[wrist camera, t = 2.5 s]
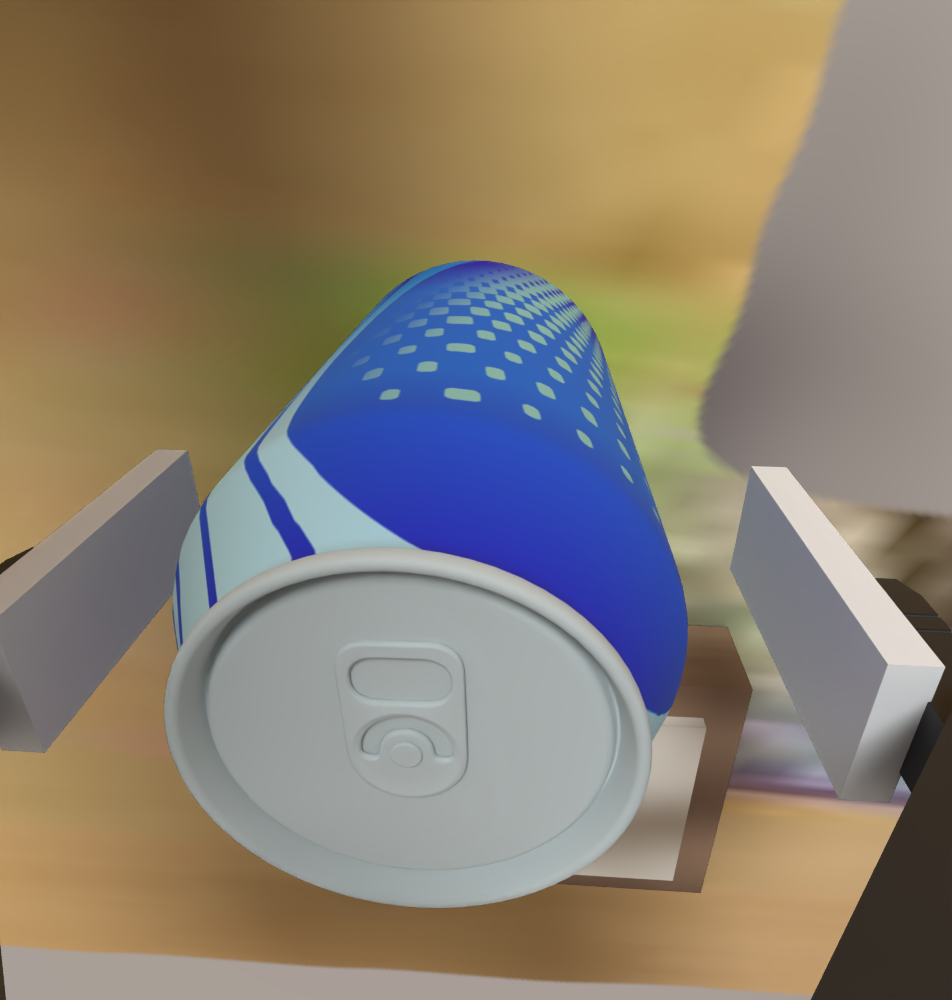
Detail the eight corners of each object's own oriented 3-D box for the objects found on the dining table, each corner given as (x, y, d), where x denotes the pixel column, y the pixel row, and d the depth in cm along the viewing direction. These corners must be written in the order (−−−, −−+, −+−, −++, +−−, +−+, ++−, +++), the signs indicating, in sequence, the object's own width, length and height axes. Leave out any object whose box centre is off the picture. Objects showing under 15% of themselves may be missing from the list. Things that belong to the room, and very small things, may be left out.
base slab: (430, 614, 28) (417, 683, 25) (727, 626, 27) (756, 699, 24) (439, 808, 34) (428, 886, 30) (684, 822, 33) (703, 904, 29)
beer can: (657, 365, 22) (872, 750, 8) (497, 531, 26) (461, 1001, 12) (456, 193, 20) (296, 321, 6) (312, 398, 24) (1, 776, 10)
